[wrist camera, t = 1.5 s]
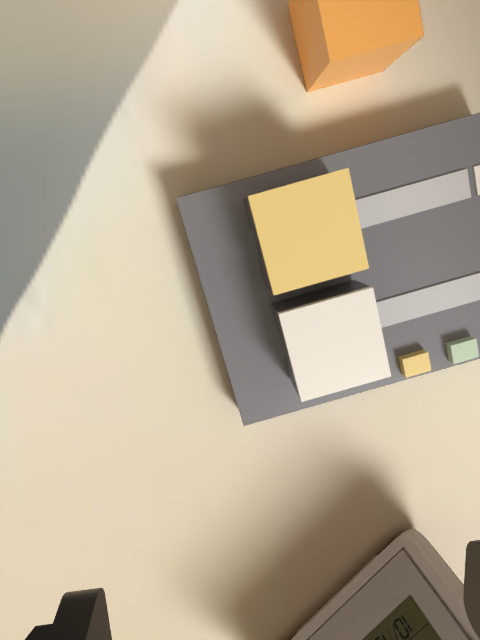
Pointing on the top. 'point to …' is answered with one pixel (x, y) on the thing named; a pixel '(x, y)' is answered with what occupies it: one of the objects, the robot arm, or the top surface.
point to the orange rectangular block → (351, 37)
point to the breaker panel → (383, 274)
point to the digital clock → (396, 599)
